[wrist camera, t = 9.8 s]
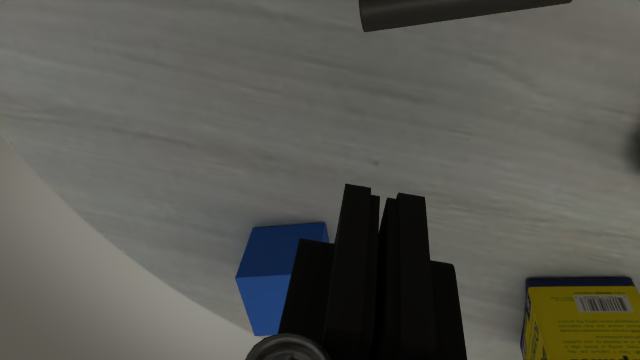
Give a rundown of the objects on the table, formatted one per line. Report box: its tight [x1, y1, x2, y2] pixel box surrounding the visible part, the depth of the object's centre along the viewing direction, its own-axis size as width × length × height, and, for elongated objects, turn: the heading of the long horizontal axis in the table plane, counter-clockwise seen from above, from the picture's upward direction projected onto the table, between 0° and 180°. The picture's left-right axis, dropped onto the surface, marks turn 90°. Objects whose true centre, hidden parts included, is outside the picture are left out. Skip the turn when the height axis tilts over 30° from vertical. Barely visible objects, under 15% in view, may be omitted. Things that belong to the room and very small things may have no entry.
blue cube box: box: [235, 222, 329, 336], centre depth 32 cm, size 4×4×4 cm
